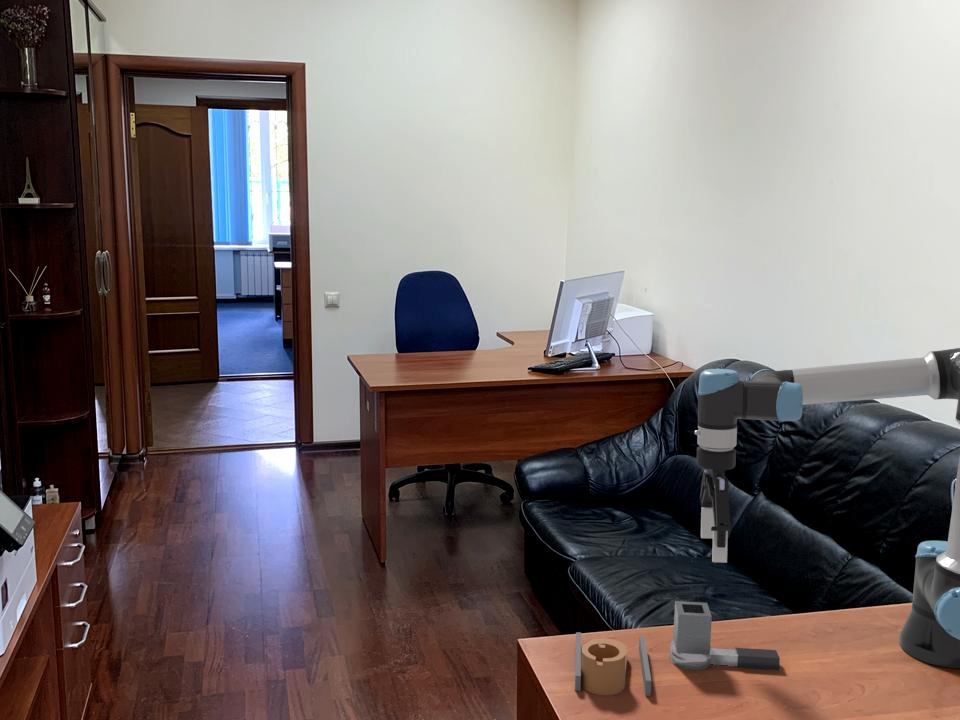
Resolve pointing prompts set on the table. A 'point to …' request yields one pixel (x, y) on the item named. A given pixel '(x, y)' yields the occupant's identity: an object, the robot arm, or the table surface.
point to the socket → (692, 628)
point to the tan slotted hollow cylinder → (603, 666)
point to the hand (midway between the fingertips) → (713, 549)
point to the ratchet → (727, 658)
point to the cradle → (642, 658)
